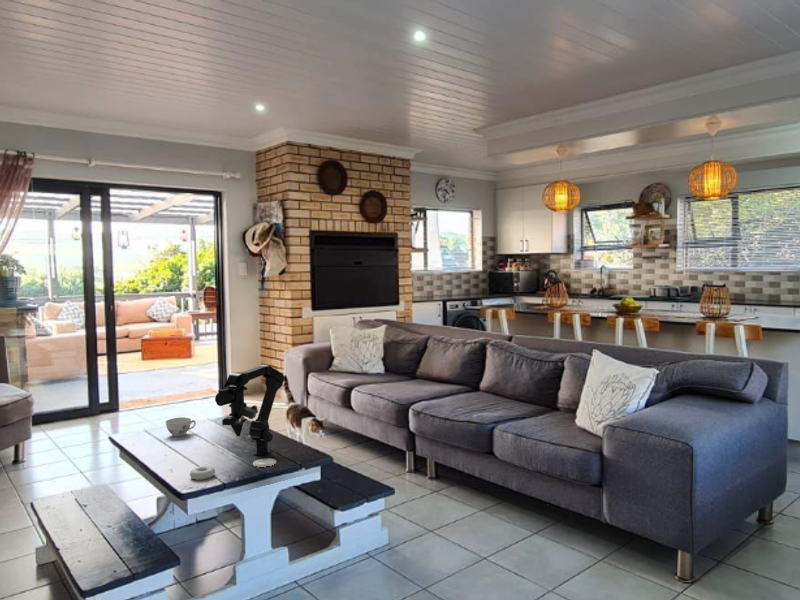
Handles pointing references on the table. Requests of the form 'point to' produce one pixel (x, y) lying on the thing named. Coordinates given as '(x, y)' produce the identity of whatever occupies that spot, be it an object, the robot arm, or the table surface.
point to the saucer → (264, 462)
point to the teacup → (179, 425)
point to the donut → (202, 472)
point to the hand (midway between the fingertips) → (238, 436)
